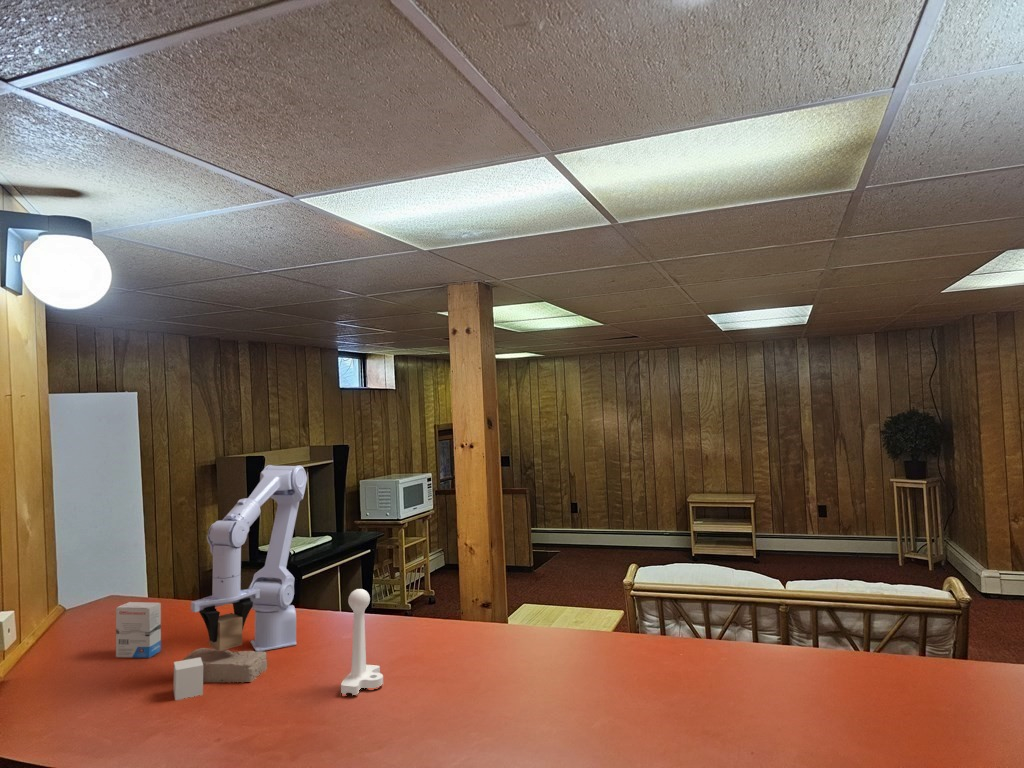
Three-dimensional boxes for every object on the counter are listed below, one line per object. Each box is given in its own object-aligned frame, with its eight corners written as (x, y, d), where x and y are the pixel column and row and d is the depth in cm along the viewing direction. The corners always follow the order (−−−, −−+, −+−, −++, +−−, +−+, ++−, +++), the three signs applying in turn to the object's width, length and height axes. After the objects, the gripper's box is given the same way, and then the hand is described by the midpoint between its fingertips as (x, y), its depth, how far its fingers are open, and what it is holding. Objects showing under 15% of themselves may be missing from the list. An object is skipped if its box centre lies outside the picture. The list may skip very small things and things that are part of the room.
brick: (268, 669, 147) (268, 648, 147) (251, 685, 139) (251, 662, 139) (197, 668, 148) (197, 647, 148) (176, 683, 140) (176, 661, 140)
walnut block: (231, 639, 148) (231, 612, 148) (242, 644, 145) (242, 617, 145) (209, 645, 144) (209, 618, 145) (219, 651, 141) (220, 622, 141)
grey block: (200, 686, 138) (200, 657, 138) (202, 695, 133) (203, 665, 134) (173, 691, 135) (173, 662, 135) (175, 700, 131) (175, 670, 131)
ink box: (162, 651, 158) (162, 601, 158) (148, 659, 153) (149, 607, 153) (128, 650, 159) (129, 600, 159) (114, 657, 154) (115, 606, 154)
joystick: (361, 674, 143) (361, 581, 144) (393, 677, 142) (393, 583, 142) (335, 695, 133) (336, 595, 133) (370, 699, 131) (370, 598, 132)
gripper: (249, 566, 153) (248, 625, 153) (185, 578, 142) (184, 642, 142) (264, 571, 149) (263, 632, 148) (199, 584, 138) (198, 649, 137)
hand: (225, 637), depth 145 cm, fingers closed on walnut block, 5 cm apart
